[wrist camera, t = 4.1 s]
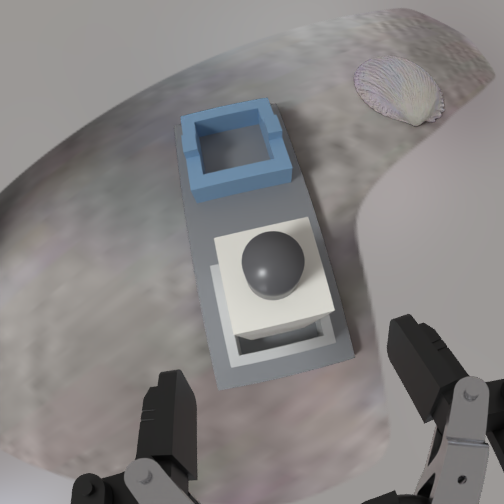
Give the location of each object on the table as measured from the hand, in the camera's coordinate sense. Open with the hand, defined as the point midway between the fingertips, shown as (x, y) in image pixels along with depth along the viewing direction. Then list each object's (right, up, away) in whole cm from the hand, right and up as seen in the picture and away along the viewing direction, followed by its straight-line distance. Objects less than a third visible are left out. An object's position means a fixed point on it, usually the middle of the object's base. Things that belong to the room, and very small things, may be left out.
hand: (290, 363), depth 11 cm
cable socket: (-1, +6, +12) cm, 13 cm away
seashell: (+14, +20, +16) cm, 29 cm away
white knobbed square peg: (0, 0, +9) cm, 9 cm away
